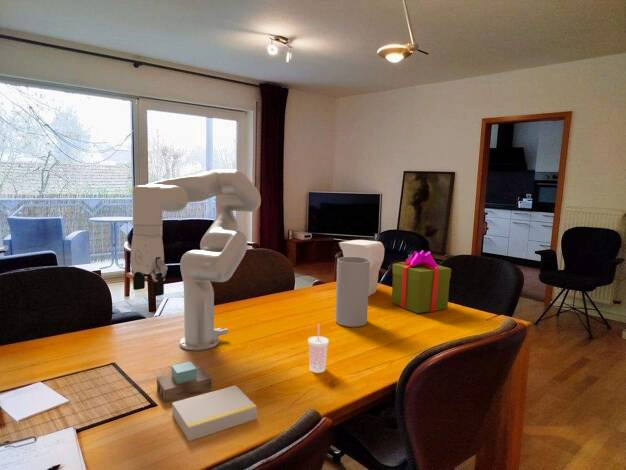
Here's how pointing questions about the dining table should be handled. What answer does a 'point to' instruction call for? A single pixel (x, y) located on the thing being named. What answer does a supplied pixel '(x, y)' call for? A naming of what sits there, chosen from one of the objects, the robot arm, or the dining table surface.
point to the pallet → (183, 386)
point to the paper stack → (368, 251)
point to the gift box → (420, 284)
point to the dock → (213, 412)
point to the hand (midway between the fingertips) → (148, 292)
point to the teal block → (184, 372)
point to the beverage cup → (317, 352)
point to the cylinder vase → (352, 291)
